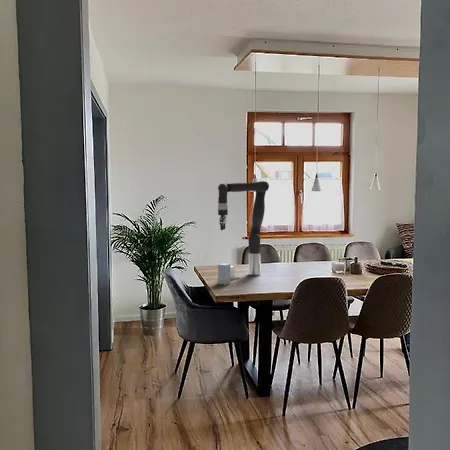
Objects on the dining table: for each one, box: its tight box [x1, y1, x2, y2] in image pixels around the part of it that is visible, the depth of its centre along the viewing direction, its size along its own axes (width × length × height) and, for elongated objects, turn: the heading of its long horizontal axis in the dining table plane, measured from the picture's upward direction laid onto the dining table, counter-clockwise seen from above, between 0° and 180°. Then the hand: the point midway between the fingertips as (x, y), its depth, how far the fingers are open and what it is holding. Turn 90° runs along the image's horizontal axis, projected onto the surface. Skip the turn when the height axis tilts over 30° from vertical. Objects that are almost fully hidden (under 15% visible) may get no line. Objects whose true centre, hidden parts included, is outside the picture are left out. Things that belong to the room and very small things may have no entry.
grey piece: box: [217, 263, 232, 286], centre depth 336 cm, size 6×6×14 cm
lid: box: [230, 265, 236, 279], centre depth 354 cm, size 6×6×9 cm
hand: (222, 229), depth 366 cm, fingers open, 8 cm apart
